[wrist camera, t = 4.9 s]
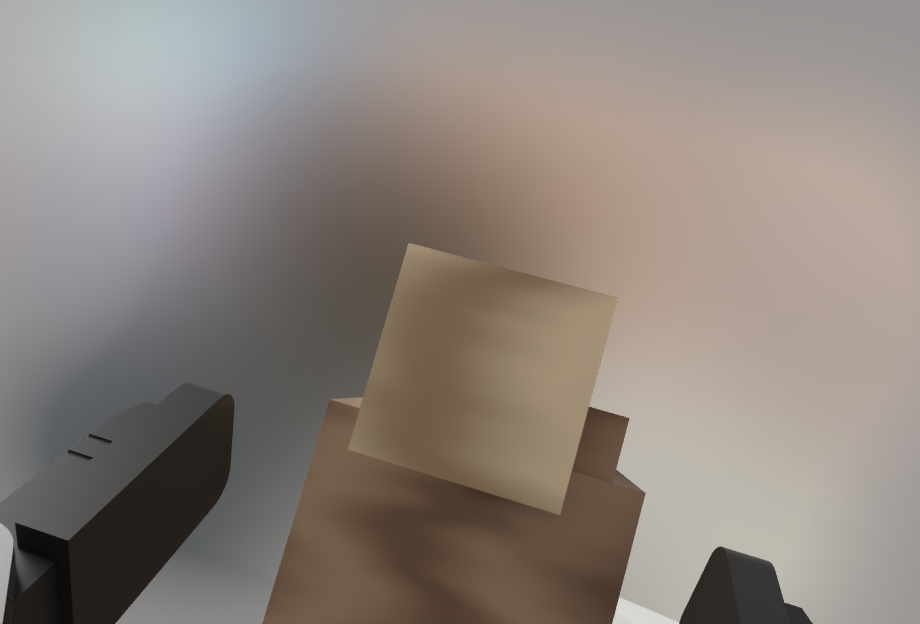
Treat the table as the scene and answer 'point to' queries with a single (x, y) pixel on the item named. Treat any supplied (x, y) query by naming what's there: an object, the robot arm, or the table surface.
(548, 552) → the walnut stand
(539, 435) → the oak block
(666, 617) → the table surface
